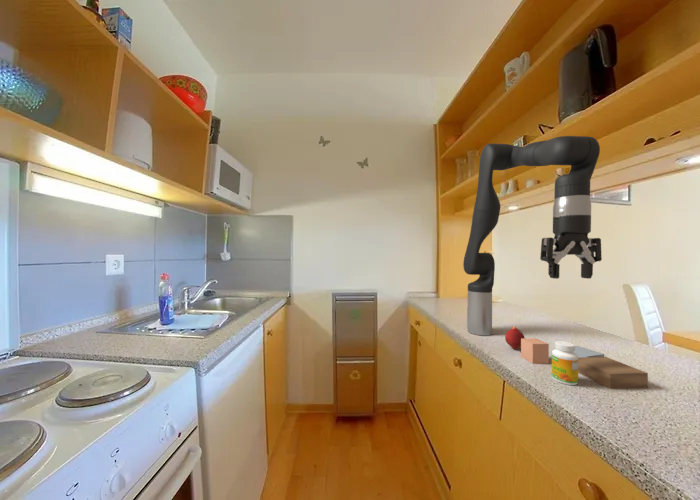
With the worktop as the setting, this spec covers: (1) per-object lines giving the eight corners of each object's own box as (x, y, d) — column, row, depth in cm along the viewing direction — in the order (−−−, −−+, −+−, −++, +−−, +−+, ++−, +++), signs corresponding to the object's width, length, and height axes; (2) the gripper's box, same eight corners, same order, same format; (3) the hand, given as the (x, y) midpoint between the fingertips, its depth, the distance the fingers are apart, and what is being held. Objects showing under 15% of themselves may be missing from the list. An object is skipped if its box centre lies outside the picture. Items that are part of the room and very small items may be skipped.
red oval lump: (520, 346, 93) (520, 324, 93) (528, 353, 87) (528, 329, 87) (502, 345, 94) (502, 323, 94) (509, 351, 88) (509, 328, 88)
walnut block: (573, 371, 75) (573, 357, 75) (606, 370, 75) (606, 356, 75) (610, 390, 65) (610, 374, 65) (647, 389, 65) (647, 373, 65)
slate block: (561, 360, 82) (561, 347, 82) (578, 358, 84) (578, 345, 84) (587, 370, 75) (587, 356, 75) (604, 367, 77) (604, 354, 77)
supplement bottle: (546, 377, 70) (546, 341, 70) (559, 374, 72) (560, 339, 72) (569, 387, 65) (569, 348, 65) (583, 383, 67) (583, 345, 67)
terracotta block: (521, 357, 84) (521, 338, 84) (536, 357, 84) (536, 338, 84) (532, 363, 79) (532, 344, 79) (548, 363, 79) (548, 343, 79)
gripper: (584, 217, 71) (583, 276, 72) (533, 216, 71) (532, 276, 71) (613, 213, 64) (611, 280, 64) (556, 213, 63) (555, 280, 63)
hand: (570, 278), depth 68 cm, fingers open, 8 cm apart
